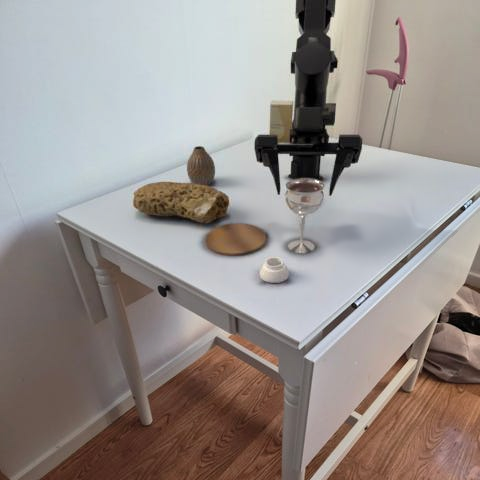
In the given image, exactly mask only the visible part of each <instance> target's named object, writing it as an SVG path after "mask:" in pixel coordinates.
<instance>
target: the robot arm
mask: <svg viewBox="0 0 480 480" xmlns="http://www.w3.org/2000/svg"><path fill="white" fill-rule="evenodd" d="M335 14H336V0H295V16H294V17H295V19H296V20H298V32H299V34H300V36H299V37H298V38H297V39H296V43H295V44H296V45H295V51H292V52H291V58H290V74H291V75H294V88H295V91H294V102H293V117H292V129H290V143H285V142H278V138H277V135H269V134H258V135H256V137H255V138H254V145H253V147H254V154H255V159H256V163H259V164H262V165H263V167H265V168H269V171H270V173H271V176H272V178H273V182H274V187H275V190H276V193H277V195H278V196H280V195H281V176H280V175H281V174H280V160H279V155H289V157H292V160H291V162H290V174H288V175H287V177H288V178H289V179H290V180H293V179H297V178H312V179H317V180H320V181H322V180H324V176H322V175H321V174H320V172H321V159H322V157H325V156H326V155H335V158H334V164H333V169H332V174H331V179H330V183H329V190H328V196H329V197H332V196H333V193H334V191H335V187H336V186H337V183H338V180H339V178H340V176H341V175H342V173H343V171H344V170H345V169H346V168H347V169H348V168H350V167H351V165H352V164H353V165H355V164H357V163H359V159H360V157H361V154H362V150H363V137H362V136H361V135H360V134H339V135H338V141H337V142H330V134H329V133H328V128H326V127H329V126H330V127H332V126H335V123H336V113H337V112H336V111H337V110H336V109H337V103H336V102H327V93H328V84H329V79H330V74H333V73H334V71H335V69H338V65H339V64H338V62H339V60H338V58H337V56H336V54H335V50H331V49H332V38H331V37H330V36H329V35H327V34H328V33H329V31H330V27H331V20H332V18H335Z"/></svg>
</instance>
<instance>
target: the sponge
mask: <svg viewBox="0 0 480 480" xmlns="http://www.w3.org/2000/svg"><path fill="white" fill-rule="evenodd" d="M132 206H133V207H134V208H135V210H138V212H139V213H143V214H146V215H150V216H157V217H173V216H178V217H182V218H187V219H190V220H192V221H195V222H198V223H202V224H209V223H212V222H213V221H215V220H216V219H221V218H223V217H225V215H226V214H227V212H228V208H229V206H230V198H229V196H228V194H226V193H224V192H223V191H221V190H218V189H217V188H215V187H212V186H210V185H207V186H206V185H200V184H193V183H192V182H191V183H190V182H177V181H175V182H173V181H157V182H151V183H150V182H149V183H148V184H145V185H143V186H141V187H139V188H138V189H137V190H135V191H133V198H132Z"/></svg>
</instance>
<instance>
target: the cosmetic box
mask: <svg viewBox="0 0 480 480" xmlns="http://www.w3.org/2000/svg"><path fill="white" fill-rule="evenodd" d="M293 116H294V100H271V101H270V107H269V133H268V135H277V138H278V142H285V143H290V129H292V121H293Z"/></svg>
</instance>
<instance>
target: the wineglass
mask: <svg viewBox="0 0 480 480" xmlns="http://www.w3.org/2000/svg"><path fill="white" fill-rule="evenodd" d="M285 188H286V191H285V194H284V201H285V203H286V206H287V208H288V209H289V210H291V212H293V213H294V214H296V215H298V216H299V217H300V239H296V240H292V241H291V242H289V243H288V245H287V248H288V249H289V250H290V251H291V252H293V253H296V254H307V253H310V252H312V251H313V250H315V244H314V243H313V242H312V241H309V240H305V239H304V233H305V232H304V231H305V223H306V217H307V216H308V215H311V214H313V213H315V212H316V211H317V210H319V209H320V208H321V206H322V204H323V202H324V199H325V198H324V197H325V194H324V190H323V189H324V188H325V184H324V182H323V181H322V180H317V179H312V178H297V179H290V180H289V181H287V182H286V183H285Z"/></svg>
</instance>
